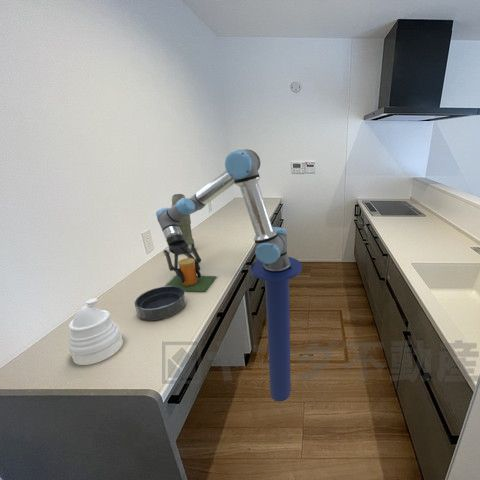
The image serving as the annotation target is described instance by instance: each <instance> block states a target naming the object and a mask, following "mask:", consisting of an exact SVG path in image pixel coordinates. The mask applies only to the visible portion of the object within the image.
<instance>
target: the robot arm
mask: <svg viewBox="0 0 480 480" xmlns="http://www.w3.org/2000/svg"><path fill="white" fill-rule="evenodd" d="M260 168H261V158H260V156H259V155H258V153H257V152H255V150H252V149H248V148H247V149H235V150H233V151H231V152H229V153H228V155H227V156H226V157H225V160H224V169H225V170H224V171H223V172H222V173H221V174H219V175H218V176H217V177H215V178H213V179H212V180H211V181H210V182H208V183H207V184H206V185H205V186H203V187H202V188H201V189H199V190H198V191H197V192H196V193H194V194H193V195H191V196H190V197H188V198H187V197H185V198H182V199H181V200H179V201H177V203H176V204H174V205H173V206H172V205H171V206H172V207H161V208H159V209H158V210H157V211H156V213H155V216H156V220H157V222H158V224H159V226H160V228H161V231H162V234H163V236H164V239H165V241H166V243H167V246H168V249H164V250H163V255H164V256H165V258H166V262H167V266H168V270H169V271H170V272H172V271H174V273H175V276H176V275H177V277H179V276H180V279H181V281H182V283H184V282H185V279H184V277H183V274H182V272H181V270H180V268H179V264H178V262H179V256H181V255H184V256H185V257H186V258H193V259H194V260H195V268H196V275H197V276H198V278H200V277H201V276H202V274H201V272H200V271H201V266H200V264H201V262H202V258H201V256H200V255H199V253H198V252H197V249H196V248H195V243H194V244H192V245H188V244H187V243H186V242H185V239H184V237H183V235H182V232H181V230H180V228H179V225H178V222H180V221H181V220H182V219H183V218H185V217H186V216H188V215H190V216H191V215H192V214H195V212H196V213H197V212H198V211H200V210H202V209H204V208H205V207H206V206H207V205H208V204H209V203H211V202H212V201H213V200H215V199H216V198H217V197H219V196H220V195H221V194H224V192H226V190H228V189H230V188H231V187H232V186H233V185H236V186H237V187H239V189H240V192H241V195H242V196H241V197H242V199H243V201H244V204H245V207H246V210H247V213H248V216H249V218H250V219H249V220H250V222H251V224H252V228H253V231H254V233H255V236H254V238H253V240H254V244H255V246H256V247H255V251H254V254H255V257H256V259H258V260H260V261H261V262H263V268H264V269H265V270H266V271H268V272H283V271H286V270H288V269H289V268H292V267H290V261H289V258H288V257H289V256H288V243H287V242H288V241H287V240H288V238H287V237H288V234H287V229H286V228H284V227H280V226H272V223H271V219H270V216H269V213H268V210H267V207H266V206H267V205H266V203H265V200H264V197H263V194H262V191H261V188H260V184H259V180H260V173H259V170H260ZM188 247H189V249H191V251H192V252H191V253H192V254H193V255H192V254H191V253H189V251H188V250H187V248H188ZM170 253H172V254H173V255H174V256H173V257H174V262H173V263H174V264H173V263H172V258H171V255H170Z"/></svg>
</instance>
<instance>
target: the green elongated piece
mask: <svg viewBox="0 0 480 480" xmlns="http://www.w3.org/2000/svg"><path fill="white" fill-rule="evenodd" d="M182 198H186V195H184V194H182V193H175V194H173V195H172V197H171V207H172V206H173V205H174V204H176V203H177V201H179V200H181V199H182ZM171 207H170V208H171ZM191 220H192V219H191V214H190V215H188V216H186V217H185V218H183V219H182V220H181V221H180V222H178V225H179V228H180V230H181V232H182V235H183V237H184V239H185V242H186V243H187V244H188V245H192V244H194V245H195V240H194V238H193V233H192V226H191V223H192V221H191ZM187 250H188V251H189V253H190V254H191V253H192V251H191V249H189V247H188V248H187Z"/></svg>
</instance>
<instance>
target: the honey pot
mask: <svg viewBox="0 0 480 480" xmlns="http://www.w3.org/2000/svg"><path fill="white" fill-rule="evenodd" d="M85 303H86V305H83V306H81V307H80V308H79V309H78V310H77V311H76V313H75V314H74V317H73V319H72V320H71V321H70V322H69V323H68V329H69V330H70V332H69V335H68V337H69V339H68V344H67V348H68V352H69V354H70V356H71V358H72V361H73V363H74V364H76V365H79V366H87V365H88V366H89V365H93V364H98V363H100V362H103V361H104V360H107V359H109V358H110V357H112V356H113V355H115V354H117V352H118V351H119V350H120V349H121V348H122V346H123V345H124V340H123V336H122V333H121V330H120V327H119V326H118V325H117V324H116V323H115V322H114V320H113V319H112V318H110V317H111V313H110V311H108V310H105V309H99V308H97V307H95V306H96V305H97V304H98V298H96V297H95V298H90V299H88V300H86V301H85Z"/></svg>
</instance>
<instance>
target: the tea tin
mask: <svg viewBox="0 0 480 480" xmlns="http://www.w3.org/2000/svg"><path fill="white" fill-rule="evenodd" d="M178 268H180V270H181V272H182V274H183V277H184V279H185V282H184V283H182V284H183V285H185V286H189V285H193V284H195V283H197V273H196V268H195V260H194V259H193V258H188V257H186V258H182V259H180V260H178Z"/></svg>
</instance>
